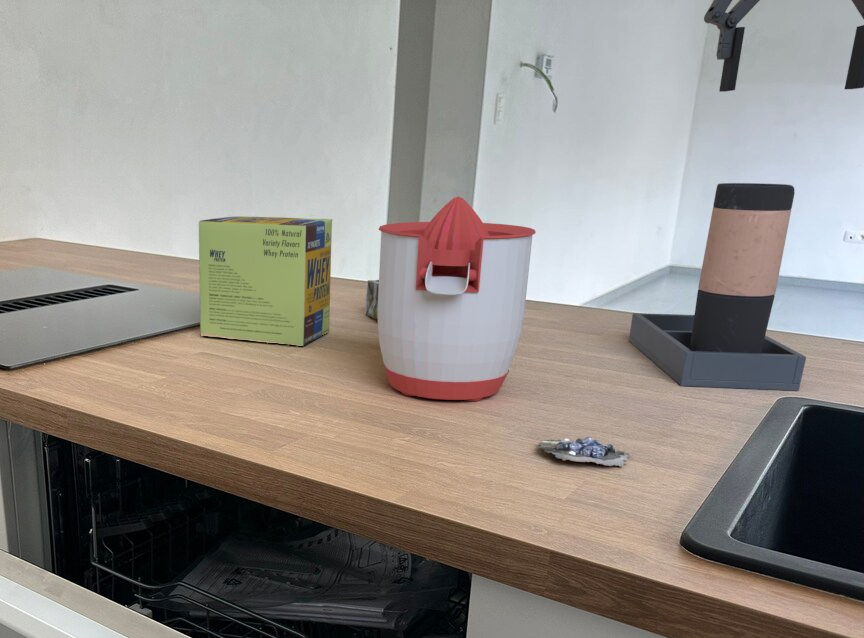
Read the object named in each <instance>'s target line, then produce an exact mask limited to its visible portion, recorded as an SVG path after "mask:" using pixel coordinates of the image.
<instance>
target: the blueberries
mask: <svg viewBox="0 0 864 638" xmlns="http://www.w3.org/2000/svg"><path fill="white" fill-rule="evenodd" d="M536 448H537V449H542V450H543V452H544V453H547V454H550V453H551V454H552V455H554V456H555V457H554V458H557V459H561V460H562V461H564V462H565V461H567V460H568V461H571V462H577V463H578V462H580V463H586V462H587V463H590V462H592V463H595V464H597V465H599V464H600V465H603V466H609V467H612V466H616V467H617V466H619V467H621V468H622V467H624V465H625V464H627V461H628V459H629V457H631V454H630V453H628V452H626V451H625V450H623V451H622V450H620V449H618V448H617V447H614V446H613V444H612V443H608V444H603V443H602V441H600V440H598V439H593V438H592V437H591V436H588V437H585V438H581V437H580V438H577V439H576V440H575V441H570V439H569V438H567V437H564V439H562V440H561V439H544V440H540V441H539V443H538V445H537V446H536Z"/></svg>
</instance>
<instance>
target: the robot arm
mask: <svg viewBox="0 0 864 638" xmlns="http://www.w3.org/2000/svg"><path fill="white" fill-rule="evenodd" d="M760 1H761V0H738V1H737V2H736V4H735V5H734V6H733V7H732V8H731V9H730V10H729V11H728V12H726V11H727V10H728V8H729V7H730V5H731V3H732V2H733V0H713V1H712V2H711V5H709V7H708V9H707V11H706V12H705V14H704V16H703V21H704V22H705V24H710V25H713V26H716V27H717V29H718V30H719V34H718V40H717V41H718V42H717V48H716V55H715V56H716V59H717V60H718V61H719V60H720V61H721V60H722V61H723V63H722V64H723V65H722V71H721V77H720V85H719V90H718V91H719V92H720V93H721V92H724V93H725V92H731V91H735V90H736V87H737V81H738V74H739V67H740V61H741V55H742V48H743V43H744V37H745V30H746V27H745V26H738V24H739V23H740V22H741V20H743V19H744V18H745V17H746V16H747V15H748V13H750V11H751V10H752V9H753V8H754V7H755V6H756V5H757V4H758V3H759V2H760ZM851 2H852V3H853V5H854V7H855V8H856V10H857V12H858V13H859V14H860V16H861V18H862V19H863V20H864V0H851ZM845 79H846V80H845V85H844V90H856V89H858V90H859V89H864V24H862V25H858V26H856V29H855V35H854V39H853V44H852V49H851V53H850V60H849V64H848V70H847V74H846V78H845Z"/></svg>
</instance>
